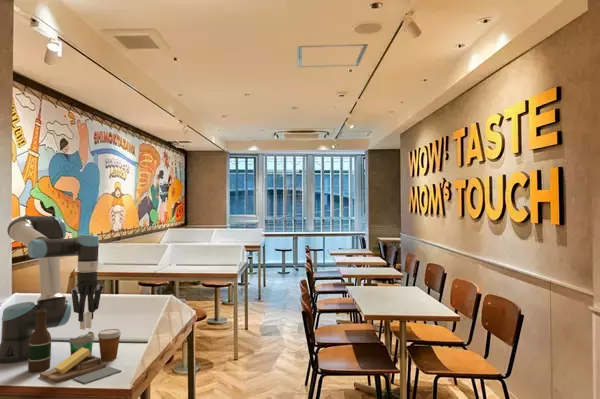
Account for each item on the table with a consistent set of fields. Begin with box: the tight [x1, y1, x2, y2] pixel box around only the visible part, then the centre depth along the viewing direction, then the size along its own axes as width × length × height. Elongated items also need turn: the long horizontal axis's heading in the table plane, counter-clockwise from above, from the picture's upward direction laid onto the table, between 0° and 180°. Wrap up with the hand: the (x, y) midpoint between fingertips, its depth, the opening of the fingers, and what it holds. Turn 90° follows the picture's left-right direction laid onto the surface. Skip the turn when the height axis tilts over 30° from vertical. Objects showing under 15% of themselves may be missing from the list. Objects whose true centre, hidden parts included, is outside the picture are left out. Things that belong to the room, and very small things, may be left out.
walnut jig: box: [39, 354, 107, 384], centre depth 161 cm, size 12×20×4 cm, turn 148°
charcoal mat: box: [72, 366, 122, 385], centre depth 158 cm, size 8×15×1 cm, turn 148°
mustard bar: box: [53, 347, 92, 374], centre depth 161 cm, size 5×12×7 cm, turn 148°
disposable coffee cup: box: [97, 328, 122, 362], centre depth 178 cm, size 10×10×12 cm
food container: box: [68, 331, 96, 356], centre depth 179 cm, size 12×6×10 cm, turn 168°
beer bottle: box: [27, 310, 52, 373], centre depth 165 cm, size 8×8×24 cm
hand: (85, 328), depth 166 cm, fingers open, 2 cm apart
